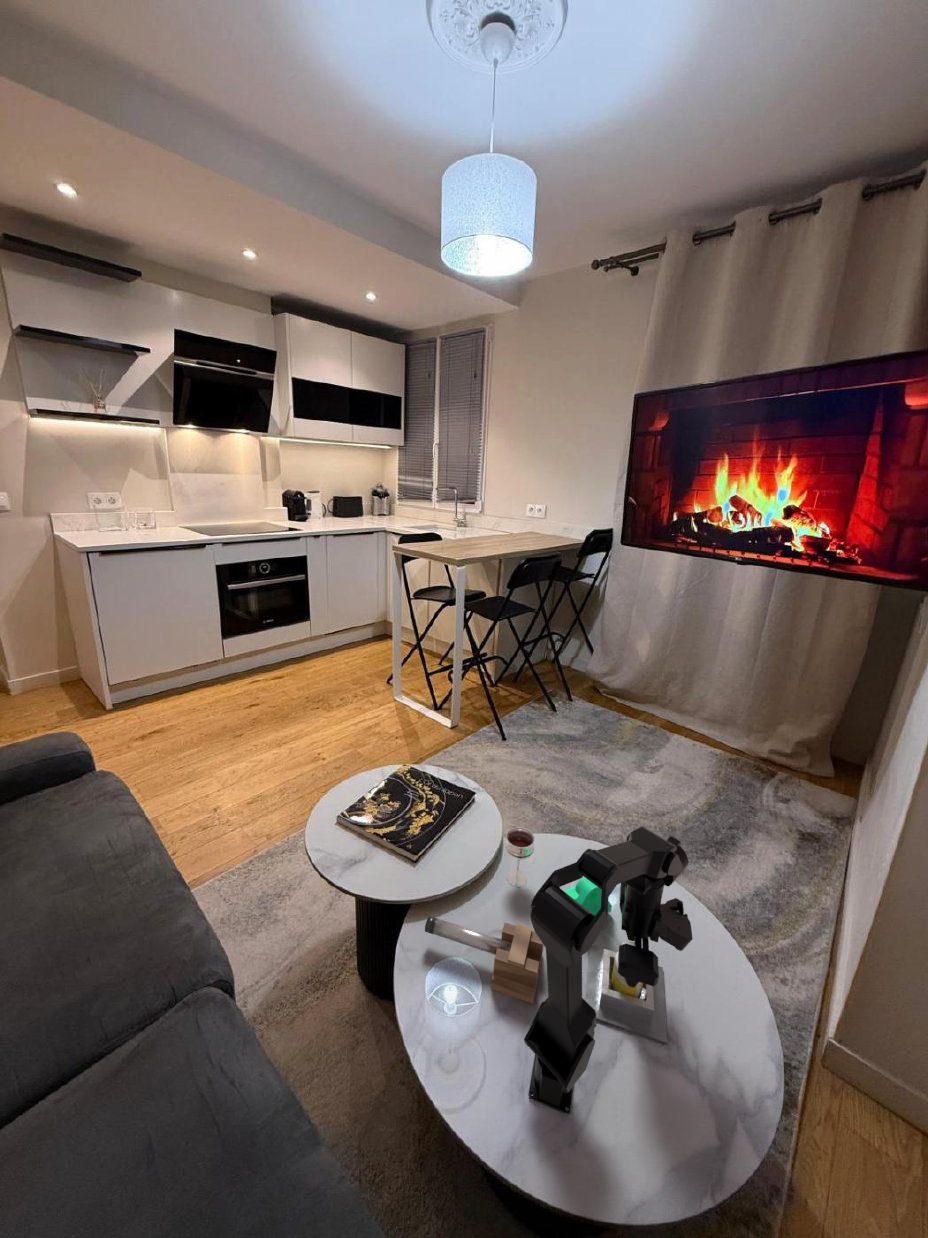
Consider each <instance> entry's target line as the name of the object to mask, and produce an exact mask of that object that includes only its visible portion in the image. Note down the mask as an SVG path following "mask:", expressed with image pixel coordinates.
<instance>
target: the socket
mask: <svg viewBox="0 0 928 1238" xmlns="http://www.w3.org/2000/svg"><path fill="white" fill-rule="evenodd" d="M588 953H589V955H588V964H587V965H588V966H587V975H586V984H585V985H586V988H585V998H584V1000H585V1001H586V1002H587V1003H588V1004H589V1005H590V1006H591V1007H592V1008H593V1009H594V1010H595V1013H596V1020H595V1021H596V1022H599V1023H602V1024H605V1025H608V1026H610V1027H611V1026H612V1027H613V1028H616V1029H619V1030H623V1031H625V1032H628V1033H631V1034H634V1035H637V1036H640V1037H642V1038H645V1039H648V1040H650V1041H654V1042H656V1043H658V1044H662V1045H665V1046H667V1045H668V1033H667V1032H668V1031H667V1030H668V1028H667V1014H666V1012H667V1011H666V999H665V996H666V995H665V983H664V981H665V979H664V968H663V967H662V966H660V965H658V969H659V978H658V983H657V985H655V986H654V987H653V986H650V985H647V984H644V983H643V986H642V992H641V996H640V999H638V998H635V997H632V996H629V995H626V994H623V993H620V992H617V991H614V990H612V987H611V981H612V974H613V968H614V961H615V956H616V954H617V952H616V951H613V950H610V949H606V948H602V947H599V946H595V945H592V946H591V948H590V949H589V950H588Z"/></svg>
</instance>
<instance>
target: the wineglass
mask: <svg viewBox="0 0 928 1238" xmlns="http://www.w3.org/2000/svg"><path fill="white" fill-rule="evenodd" d="M505 838H506V839H505V840H504V841H505V843H504V845H505V846H504V847H505V849H506V851H507V854H508V855H509V856H511V857H512V858H513V859H515V860H516V869H513V870H510V871H508V873H507V874H506V876H505V877H506V881H507V882H508V884H509V885H510V886H512V887H515V888H517V887H518V888H519V887H523V886H525V885H526V884H527V883H528V877H527V875H526V873H525V872H523V871H522V870H519V869H520V863H521V862H520V861H522V860H526V859H528V858H530V857H531V856H532V854H533V853H534V850H535V839H536V838H535V836H534V833H532V832H531V830H529V829H528V828H525V827H522V826H521V827H520V826H518V827H516V826H515V827H513V828H510V829H508V830H507V832H506V833H505Z"/></svg>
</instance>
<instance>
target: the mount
mask: <svg viewBox="0 0 928 1238" xmlns="http://www.w3.org/2000/svg"><path fill="white" fill-rule="evenodd" d="M501 939H502V940H505V941H508V942H511V943H512V945H511V949H510V952H508V951H505V950H502V949H499V948H497V951H496V955H495V956H494V961H493V973H492V976H491V977H492V978H491V986H490V987H491V988H490V989H491V990H493V991H496V992H499V993H503V994H504V995H507V996H511V997H513V998H516V999H518V1000H522V1001H524V1002H527V1003H530V1004H534V1002H535V996H536V991H537V988H538V987H537V986H538V981H539V975H540V970H541V963H542V959H543V951H544V944H543V943H542V941H541V940H540V938H539V937H538V935H537V934H536V932H535V931H534V930H533V926H532V927H531V926H529V925H525V924H521V923H519V922H517V923H516V925H515V924H511V923H509V922H506V921H505V922H503V927H502V930H501Z"/></svg>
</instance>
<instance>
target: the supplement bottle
mask: <svg viewBox="0 0 928 1238" xmlns="http://www.w3.org/2000/svg"><path fill="white" fill-rule="evenodd" d="M625 943H626V944H629V945H633V946H634V941H630V940H626V941H624V942H622V943H621V945H623V944H625ZM618 952H619V950H618V951H617V952H616V953H617V954H616V956H615V961H614V968H613V974H612V981H611V987H612V990H614V991H617V992H620V993H623V994H626V995H629V996H632V997H635V998H638V999H640V996H641V992H642V986H643V983H641V982H639V983H638V984H637V985H636V986H635V987H630V986H628V985H627V983H626V980H625V978H624V977H622V976H621V975H620V974H619V973H618Z"/></svg>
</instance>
